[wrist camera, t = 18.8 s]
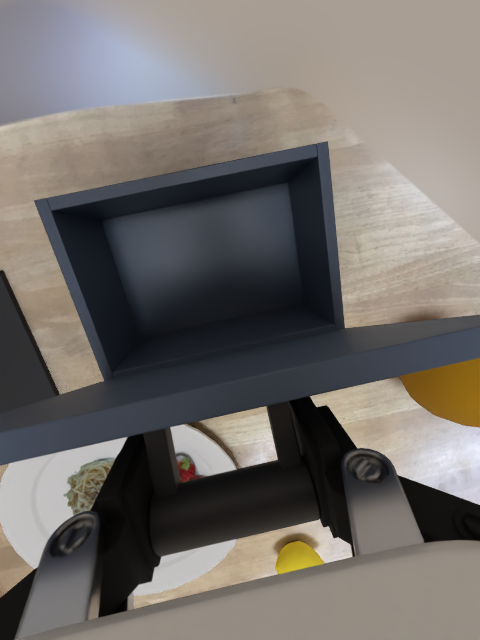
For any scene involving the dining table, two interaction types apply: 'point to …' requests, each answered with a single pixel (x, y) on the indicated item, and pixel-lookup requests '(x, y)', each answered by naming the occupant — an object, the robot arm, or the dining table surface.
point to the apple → (448, 391)
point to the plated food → (82, 490)
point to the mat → (19, 357)
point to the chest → (201, 259)
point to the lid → (226, 398)
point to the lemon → (297, 557)
